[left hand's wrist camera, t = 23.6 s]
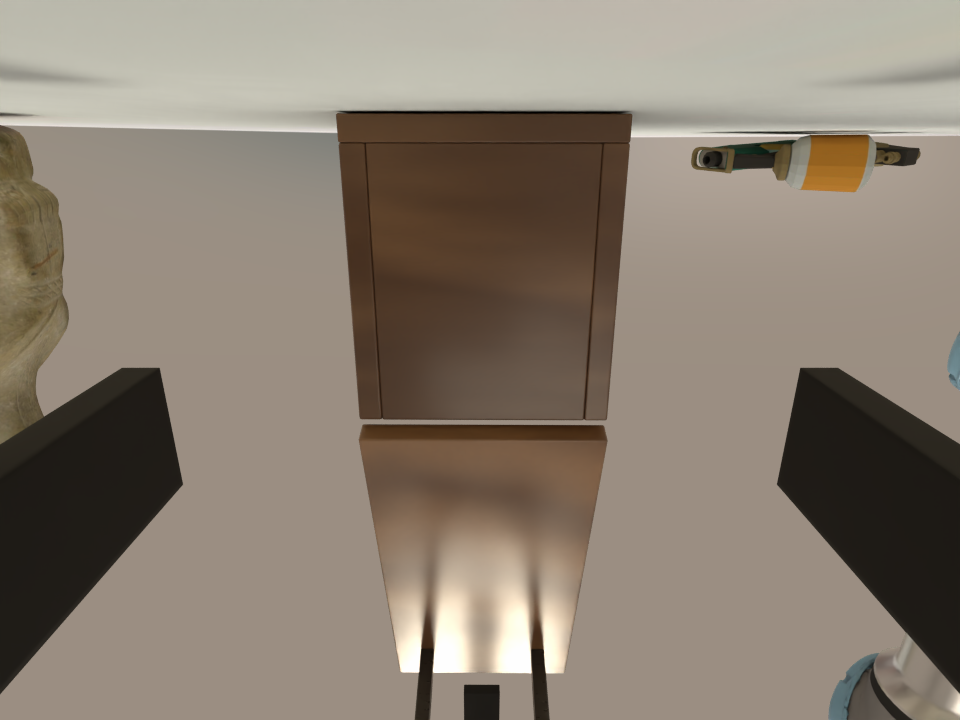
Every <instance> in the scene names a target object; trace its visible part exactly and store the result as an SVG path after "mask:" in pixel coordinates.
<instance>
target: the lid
mask: <svg viewBox="0 0 960 720" xmlns="http://www.w3.org/2000/svg"><path fill="white" fill-rule="evenodd" d="M359 443H360V449H361V455H362V460H363V466H364V471H365V477H366V483H367V488H368V494H369V500H370V505H371V511H372V516H373V522H374V528H375V533H376V539H377V545H378V550H379V556H380V562H381V567H382V573H383V578H384V584H385V590H386V595H387V601H388V606H389V612H390V618H391V623H392V629H393V635H394V640H395V646H396V651H397V657H398V663H399V668H400V672H419V676H418V688H417V700H416V711H415V720H430V713H431V698H432V683H433V672H452V673H453V672H454V673H531V674H532V690H533V707H534V720H550V719H549V707H548V694H547V681H546V673H565V668H566V663H567V657H568V652H569V647H570V641H571V636H572V630H573V625H574V620H575V614H576V609H577V603H578V598H579V592H580V587H581V581H582V576H583V571H584V565H585V560H586V555H587V549H588V544H589V538H590V533H591V528H592V522H593V517H594V511H595V506H596V500H597V495H598V490H599V484H600V479H601V473H602V468H603V462H604V457H605V452H606V446H607V436H606V432H605V428H604V426H603V425H388V424H385V425H384V424H383V425H382V424H364V425H362V429H361V433H360V437H359Z"/></svg>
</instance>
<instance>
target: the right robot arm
mask: <svg viewBox="0 0 960 720" xmlns="http://www.w3.org/2000/svg"><path fill="white" fill-rule="evenodd" d="M948 372H949V373H950V375H949V379H950V382H951V383H952V384H953V386H955V387H956V388H957V389H959V391H960V332H959V334H958V336H957V338H956V339H955V342H954V344H953V346H952V349H951V351H950V355H949V359H948ZM499 697H500V691H499V685H464V720H499V699H500V698H499ZM829 720H960V694H959V693H958V691H957V690H956V689H955V688H954V687H953V686H952V685H951V683H950V682H949V681H948V680H947V679H946V678H945V677H944V675H943V674H942V673H941V672H940V671H939V670H938V669H937V667H936V666H935V665H934V664H933V663H932V662H931V661H930V659H929V658H928V657H927V656H926V655H925V654H924V652H923V651H922V650H921V649H920V648H919V647H918V646H917V644H916V643H915V642H914V641H913V640H912V639H911V638H910V636H909V635H908V634H907V633H905V636H904V639H903V641H902V644H901V647H894V648H889V649H886V650H884V651H882V652H881V653H875V654H871V655H868V656H866V657H864V658H862V659H860V660H859V661H857V662H856V663H855V664H853V665H852V667H850V668H849V670H848V671H847V672H846V678H845V679H844V680H840V681H839V683H838V685H837V686H836V688H835V691H834V693H833V696H832V698H831V702H830V707H829Z"/></svg>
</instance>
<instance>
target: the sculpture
mask: <svg viewBox="0 0 960 720" xmlns="http://www.w3.org/2000/svg"><path fill="white" fill-rule="evenodd" d="M32 176H33V166H32V162H31V158H30V154H29V150H28V147H27V144H26V141H25V139H24V137H23V136H22V135H21V134H20V133H19V132H17V131H16V130H14V129H11V128H8V127H5V126H1V125H0V444H1V443H3V442H5V441H6V440H8V439H9V438H11V437H13V436H14V435H16V434H17V433H19V432H21V431H22V430H24V429H25V428H27V427H29V426H30V425H32V424H33V423H35V422H37V421H38V420H40V419H41V418H43V417H44V416H43V414H42V411H41V409H40V406H39V403H38V399H37V396H36V375H37V371H38V369H39V368H40V366H41V365H42V364H43V363H44V362H45V360H46V359H47V358H48V357H49V355H50V354H51V352H52V351H53V349H54V348H55V346H56V345H57V344H58V342H59V341H60V339H61V337H62V336H63V334H64V332H65V331H66V329H67V325H68V320H69V314H68V306H67V303H66V301H65V299H64V296H63V293H62V288H63V278H62V267H63V260H64V247H63V232H62V224H61V220H60V217H59V215H58V210H59V204H58V200H57V198H56V196H55V195H54V194H53V193H52V192H51V191H49V190H48V189H47V188H45V187H43V186H41V185H39V184H38V183H36V182H34V181H33V180H32Z"/></svg>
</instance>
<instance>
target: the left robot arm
mask: <svg viewBox="0 0 960 720" xmlns="http://www.w3.org/2000/svg"><path fill="white" fill-rule="evenodd" d="M182 485H183V482H182V477H181V472H180V467H179V462H178V457H177V452H176V447H175V442H174V437H173V432H172V427H171V422H170V417H169V412H168V408H167V403H166V398H165V393H164V388H163V383H162V378H161V373H160V368H121V369H120V370H118V371H116V372H115V373H113V374H112V375H110V376H108V377H107V378H105V379H104V380H102V381H101V382H99V383H97V384H96V385H94V386H92V387H91V388H89V389H88V390H86V391H85V392H83V393H81V394H80V395H78V396H77V397H75V398H73V399H72V400H70V401H69V402H67V403H65V404H64V405H62V406H61V407H59V408H57V409H56V410H54V411H53V412H51V413H49V414H48V415H46V416H45V417H43V418H41V419H40V420H38V421H37V422H35V423H33V424H32V425H30V426H29V427H27V428H25V429H24V430H22V431H21V432H19V433H17V434H16V435H14V436H13V437H11V438H9V439H8V440H6V441H5V442H3V443H1V444H0V694H1V693H2V691H3V690H4V689H5V688H6V687H7V686H8V685H9V683H10V682H11V681H12V680H13V679H14V678H15V676H16V675H17V674H18V673H19V672H20V671H21V670H22V669H23V667H24V666H25V665H26V664H27V663H28V662H29V660H30V659H31V658H32V657H33V656H34V655H35V654H36V652H37V651H38V650H39V649H40V648H41V647H42V646H43V644H44V643H45V642H46V641H47V640H48V639H49V638H50V636H51V635H52V634H53V633H54V632H55V631H56V630H57V628H58V627H59V626H60V625H61V624H62V623H63V621H64V620H65V619H66V618H67V617H68V616H69V615H70V613H71V612H72V611H73V610H74V609H75V608H76V607H77V605H78V604H79V603H80V602H81V601H82V600H83V599H84V597H85V596H86V595H87V594H88V593H89V592H90V591H91V589H92V588H93V587H94V586H95V585H96V584H97V582H98V581H99V580H100V579H101V578H102V577H103V576H104V574H105V573H106V572H107V571H108V570H109V569H110V568H111V566H112V565H113V564H114V563H115V562H116V561H117V560H118V558H119V557H120V556H121V555H122V554H123V553H124V552H125V550H126V549H127V548H128V547H129V546H130V545H131V543H132V542H133V541H134V540H135V539H136V538H137V537H138V535H139V534H140V533H141V532H142V531H143V530H144V529H145V527H146V526H147V525H148V524H149V523H150V522H151V521H152V519H153V518H154V517H155V516H156V515H157V514H158V513H159V511H160V510H161V509H162V508H163V507H164V506H165V504H166V503H167V502H168V501H169V500H170V499H171V498H172V496H173V495H174V494H175V493H176V492H177V491H178V490H179V488H180V487H181V486H182ZM777 485H778V486H779V487H780V488H781V490H782V491H783V492H784V493H785V494H786V495H787V496H788V498H789V499H790V500H791V501H792V502H793V503H794V504H795V506H796V507H797V508H798V509H799V510H800V511H801V512H802V514H803V515H804V516H805V517H806V518H807V519H808V521H809V522H810V523H811V524H812V525H813V526H814V527H815V529H816V530H817V531H818V532H819V533H820V534H821V535H822V537H823V538H824V539H825V540H826V541H827V542H828V543H829V545H830V546H831V547H832V548H833V549H834V550H835V551H836V553H837V554H838V555H839V556H840V557H841V558H842V559H843V561H844V562H845V563H846V564H847V565H848V566H849V568H850V569H851V570H852V571H853V572H854V573H855V574H856V576H857V577H858V578H859V579H860V580H861V581H862V582H863V584H864V585H865V586H866V587H867V588H868V589H869V591H870V592H871V593H872V594H873V595H874V596H875V597H876V598H877V600H878V601H879V602H880V603H881V604H882V605H883V607H884V608H885V609H886V610H887V611H888V612H889V613H890V615H891V616H892V617H893V618H894V619H895V620H896V622H897V623H898V624H899V625H900V626H901V627H902V628H903V629H904V631H905V632H906V633H907V634H908V635H909V636H910V638H911V639H912V640H913V641H914V642H915V643H916V644H917V646H918V647H919V648H920V649H921V650H922V651H923V652H924V654H925V655H926V656H927V657H928V658H929V659H930V661H931V662H932V663H933V664H934V665H935V666H936V667H937V669H938V670H939V671H940V672H941V673H942V674H943V675H944V677H945V678H946V679H947V680H948V681H949V682H950V683H951V685H952V686H953V687H954V688H955V689H956V690H957V691H958V693H959V694H960V444H959V443H957V442H955V441H954V440H952V439H950V438H949V437H947V436H946V435H944V434H943V433H941V432H939V431H938V430H936V429H935V428H933V427H931V426H930V425H928V424H927V423H925V422H923V421H922V420H920V419H919V418H917V417H915V416H914V415H912V414H911V413H909V412H907V411H906V410H904V409H903V408H901V407H899V406H898V405H896V404H895V403H893V402H891V401H890V400H888V399H887V398H885V397H883V396H882V395H880V394H879V393H877V392H875V391H874V390H872V389H871V388H869V387H868V386H866V385H864V384H863V383H861V382H860V381H858V380H856V379H855V378H853V377H852V376H850V375H848V374H847V373H845V372H844V371H842V370H840V369H839V368H800V373H799V378H798V383H797V388H796V393H795V398H794V403H793V408H792V412H791V418H790V422H789V428H788V432H787V437H786V442H785V447H784V452H783V457H782V462H781V467H780V472H779V477H778V482H777Z"/></svg>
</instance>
